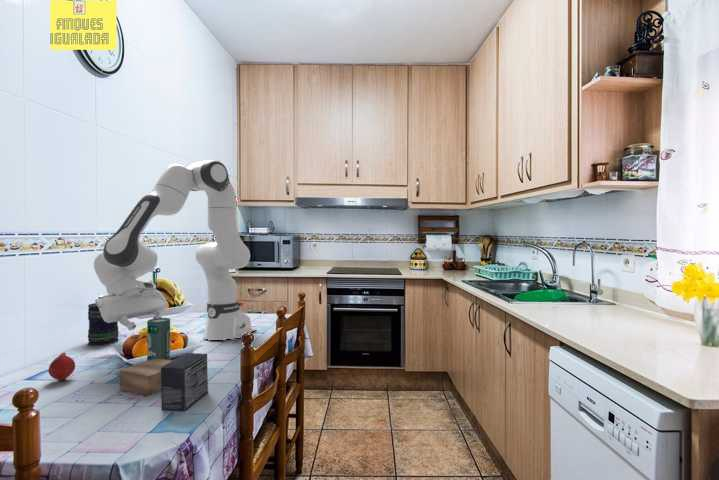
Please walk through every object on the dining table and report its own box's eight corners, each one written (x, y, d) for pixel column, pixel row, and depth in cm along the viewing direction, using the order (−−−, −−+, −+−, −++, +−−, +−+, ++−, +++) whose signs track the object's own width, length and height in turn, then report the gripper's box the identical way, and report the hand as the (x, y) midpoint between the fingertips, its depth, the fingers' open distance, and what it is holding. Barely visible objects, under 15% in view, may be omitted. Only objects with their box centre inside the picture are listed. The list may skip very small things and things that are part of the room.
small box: (185, 391, 96) (185, 352, 96) (208, 392, 95) (209, 353, 95) (159, 410, 86) (159, 366, 85) (185, 412, 85) (185, 367, 85)
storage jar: (91, 340, 144) (92, 302, 144) (121, 337, 148) (121, 301, 148) (84, 347, 135) (84, 307, 135) (115, 344, 139) (115, 305, 139)
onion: (59, 385, 100) (60, 356, 100) (43, 384, 101) (43, 355, 101) (80, 377, 105) (80, 350, 105) (63, 376, 106) (64, 349, 106)
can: (149, 366, 115) (149, 318, 115) (170, 363, 118) (170, 317, 118) (146, 372, 110) (146, 322, 110) (168, 369, 112) (169, 321, 112)
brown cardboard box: (156, 374, 108) (156, 357, 108) (183, 380, 104) (183, 362, 104) (119, 388, 98) (119, 370, 98) (148, 395, 93) (148, 376, 93)
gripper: (97, 290, 109) (119, 326, 105) (158, 283, 128) (178, 313, 124) (88, 304, 110) (109, 339, 107) (149, 295, 129) (169, 325, 126)
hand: (147, 325), depth 115 cm, fingers open, 8 cm apart
